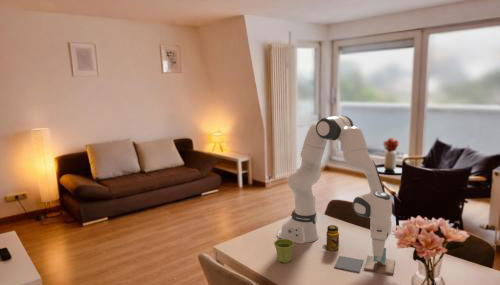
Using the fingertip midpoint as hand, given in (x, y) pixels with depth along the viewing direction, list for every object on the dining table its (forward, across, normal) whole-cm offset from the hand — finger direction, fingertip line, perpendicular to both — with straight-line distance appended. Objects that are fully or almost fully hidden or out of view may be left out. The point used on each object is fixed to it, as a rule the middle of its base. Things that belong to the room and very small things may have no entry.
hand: (379, 256), depth 159 cm
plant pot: (+5, +11, -42) cm, 44 cm away
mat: (+4, +4, -13) cm, 14 cm away
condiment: (+5, -8, -24) cm, 26 cm away
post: (+4, 0, 0) cm, 4 cm away
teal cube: (+1, 0, 0) cm, 1 cm away
